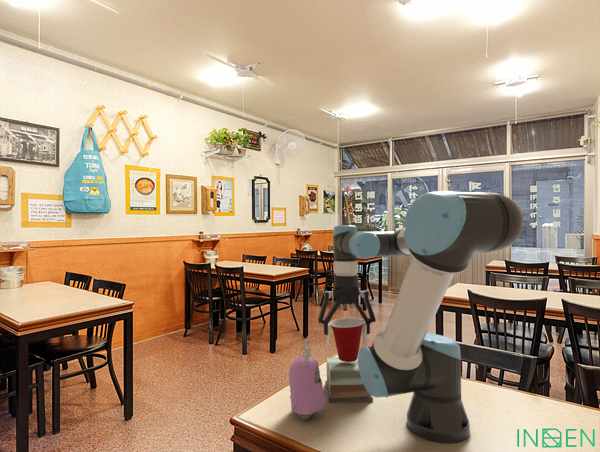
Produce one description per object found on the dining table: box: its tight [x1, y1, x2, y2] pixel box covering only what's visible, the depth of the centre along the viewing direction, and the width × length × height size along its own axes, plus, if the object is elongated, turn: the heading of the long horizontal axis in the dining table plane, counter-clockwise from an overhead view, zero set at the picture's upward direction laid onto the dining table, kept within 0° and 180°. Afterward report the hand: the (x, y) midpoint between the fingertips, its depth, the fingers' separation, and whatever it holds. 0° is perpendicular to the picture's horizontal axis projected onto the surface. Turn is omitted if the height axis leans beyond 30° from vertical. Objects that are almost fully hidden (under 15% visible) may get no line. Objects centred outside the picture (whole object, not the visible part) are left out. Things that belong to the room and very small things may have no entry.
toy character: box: [288, 339, 327, 421], centre depth 102 cm, size 12×10×20 cm
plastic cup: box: [329, 317, 365, 362], centre depth 116 cm, size 11×11×12 cm
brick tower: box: [324, 356, 374, 404], centre depth 115 cm, size 13×13×9 cm
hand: (347, 344), depth 116 cm, fingers closed on plastic cup, 11 cm apart
